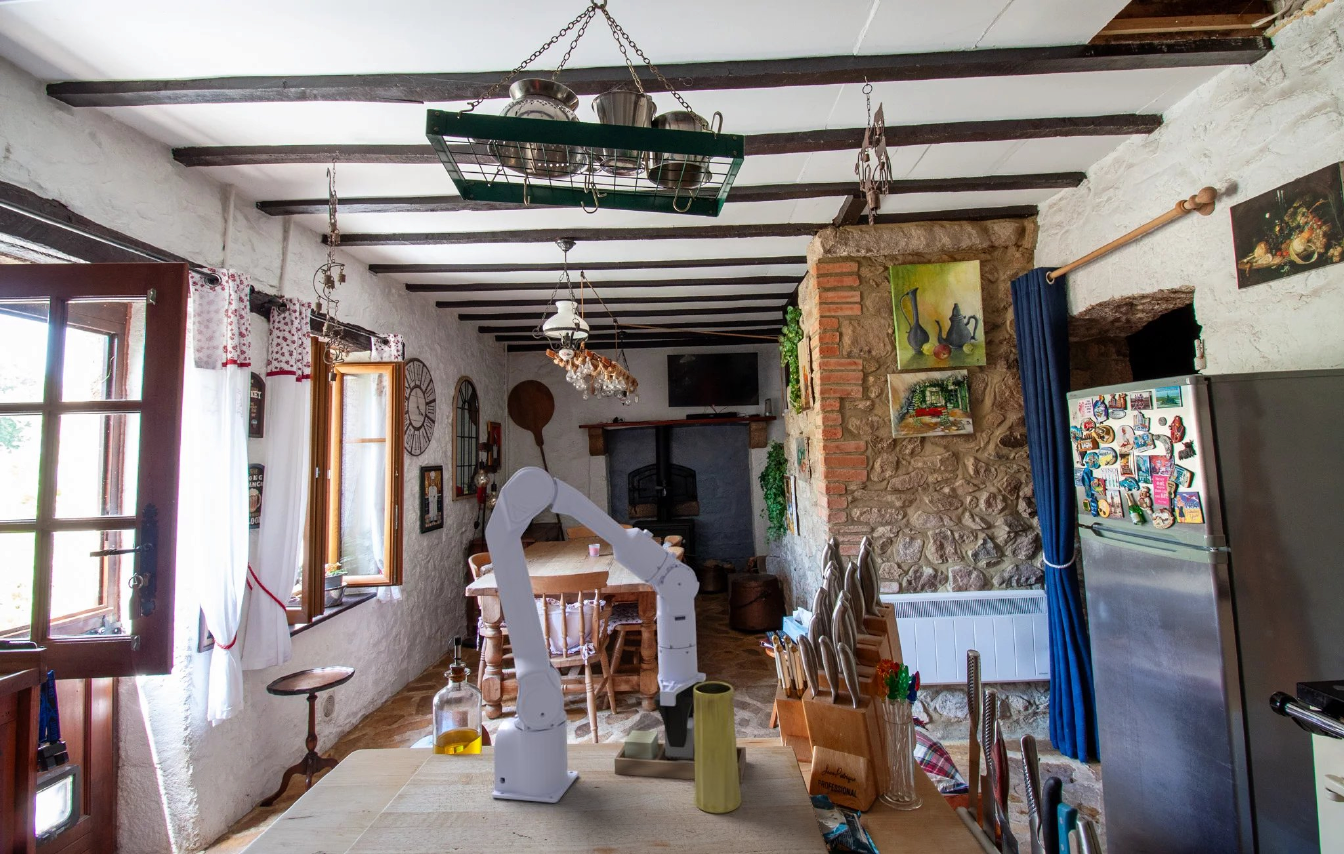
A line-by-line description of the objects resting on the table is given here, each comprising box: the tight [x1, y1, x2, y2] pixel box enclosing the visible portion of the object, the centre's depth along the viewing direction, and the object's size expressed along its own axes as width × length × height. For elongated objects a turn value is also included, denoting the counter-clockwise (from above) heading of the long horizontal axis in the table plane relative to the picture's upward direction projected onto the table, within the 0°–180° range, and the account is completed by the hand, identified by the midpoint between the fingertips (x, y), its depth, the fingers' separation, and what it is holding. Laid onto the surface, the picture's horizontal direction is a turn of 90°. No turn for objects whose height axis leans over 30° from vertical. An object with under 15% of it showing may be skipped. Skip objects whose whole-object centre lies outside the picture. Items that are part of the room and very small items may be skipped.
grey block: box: [664, 717, 695, 758], centre depth 89 cm, size 4×4×4 cm
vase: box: [693, 680, 742, 814], centre depth 79 cm, size 6×6×14 cm
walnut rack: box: [614, 729, 747, 784], centre depth 88 cm, size 18×6×4 cm, turn 77°
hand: (680, 739), depth 89 cm, fingers closed on grey block, 4 cm apart
